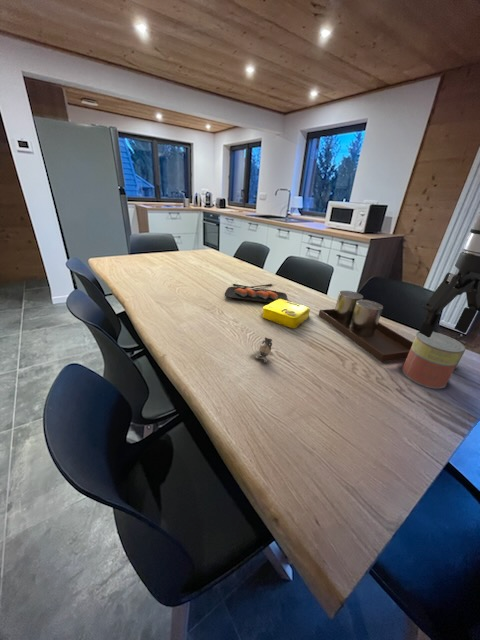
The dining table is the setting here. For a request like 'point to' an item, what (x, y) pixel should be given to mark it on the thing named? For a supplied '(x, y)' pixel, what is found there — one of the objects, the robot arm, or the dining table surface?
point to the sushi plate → (254, 294)
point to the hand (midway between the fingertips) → (442, 332)
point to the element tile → (286, 313)
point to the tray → (374, 339)
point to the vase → (265, 349)
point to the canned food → (432, 359)
